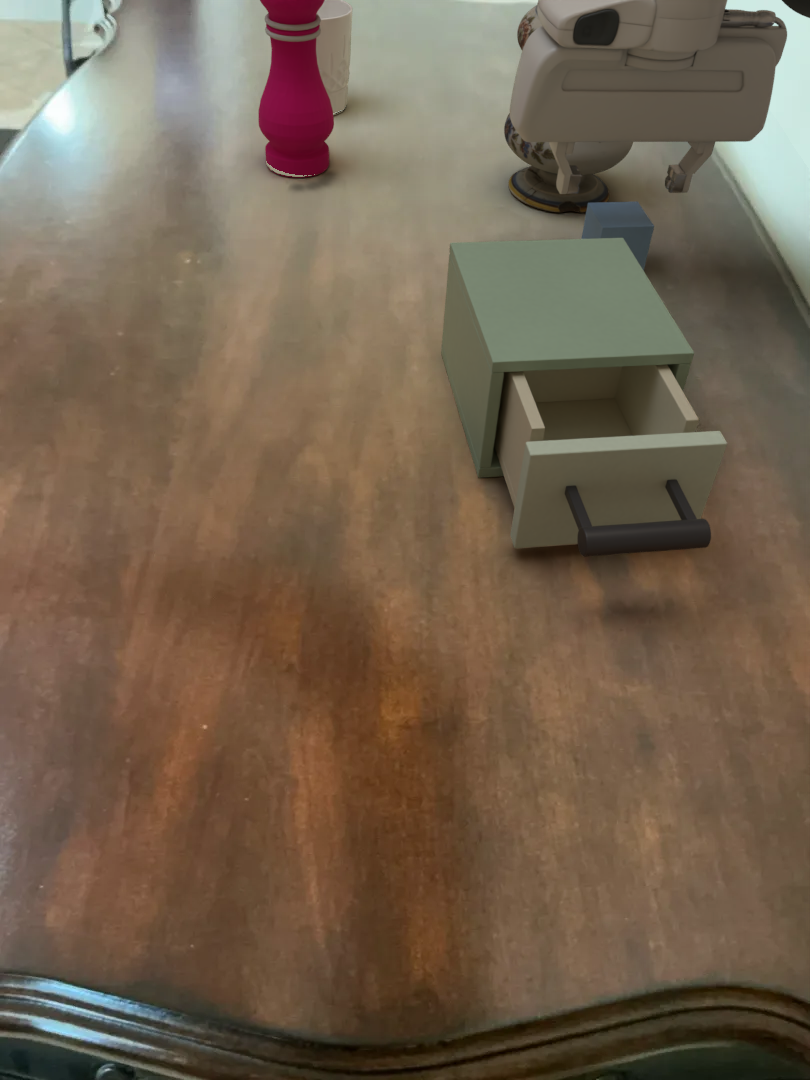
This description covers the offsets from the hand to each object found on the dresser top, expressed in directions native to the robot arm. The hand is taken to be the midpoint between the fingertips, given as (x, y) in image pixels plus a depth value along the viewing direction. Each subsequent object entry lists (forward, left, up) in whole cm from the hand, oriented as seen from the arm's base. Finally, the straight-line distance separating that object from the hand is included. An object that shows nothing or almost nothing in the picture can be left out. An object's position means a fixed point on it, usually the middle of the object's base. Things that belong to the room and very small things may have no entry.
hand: (621, 190), depth 81 cm
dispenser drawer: (+11, +31, -6) cm, 33 cm away
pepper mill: (+26, -21, -7) cm, 34 cm away
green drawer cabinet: (+11, +20, -7) cm, 24 cm away
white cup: (+23, -36, -7) cm, 43 cm away
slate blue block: (0, 0, -7) cm, 7 cm away
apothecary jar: (+1, -14, -7) cm, 15 cm away
